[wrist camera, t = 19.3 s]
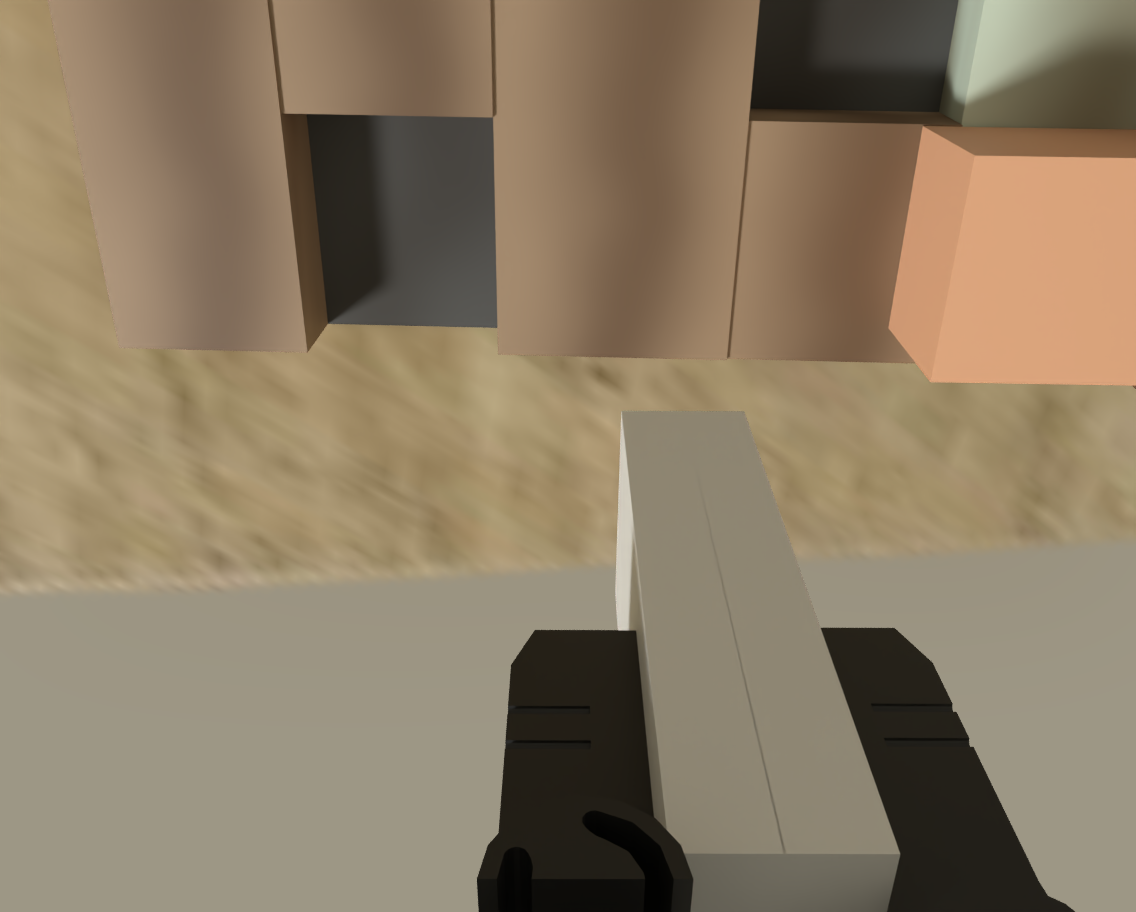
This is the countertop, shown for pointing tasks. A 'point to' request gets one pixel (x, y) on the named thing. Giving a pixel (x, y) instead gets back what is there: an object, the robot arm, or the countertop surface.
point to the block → (1020, 257)
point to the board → (547, 161)
